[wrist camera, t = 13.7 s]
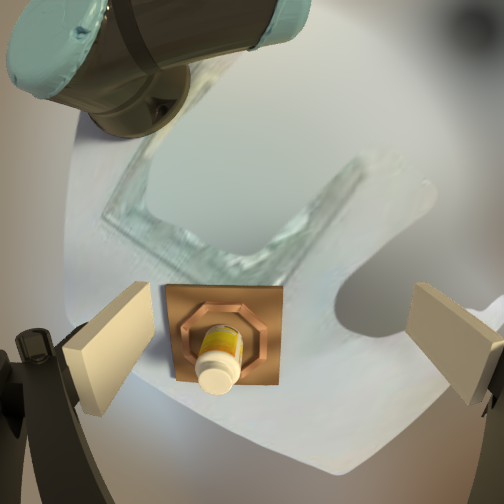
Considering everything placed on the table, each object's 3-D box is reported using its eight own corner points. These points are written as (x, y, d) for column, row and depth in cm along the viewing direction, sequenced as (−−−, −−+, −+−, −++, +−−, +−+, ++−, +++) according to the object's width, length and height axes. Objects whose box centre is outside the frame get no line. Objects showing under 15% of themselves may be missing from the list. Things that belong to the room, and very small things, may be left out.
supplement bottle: (197, 331, 43) (182, 371, 33) (232, 317, 42) (224, 356, 32) (216, 361, 44) (206, 405, 34) (250, 348, 43) (247, 392, 33)
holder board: (167, 283, 42) (163, 289, 40) (282, 285, 42) (283, 291, 40) (178, 376, 46) (175, 384, 44) (278, 380, 46) (278, 388, 43)
